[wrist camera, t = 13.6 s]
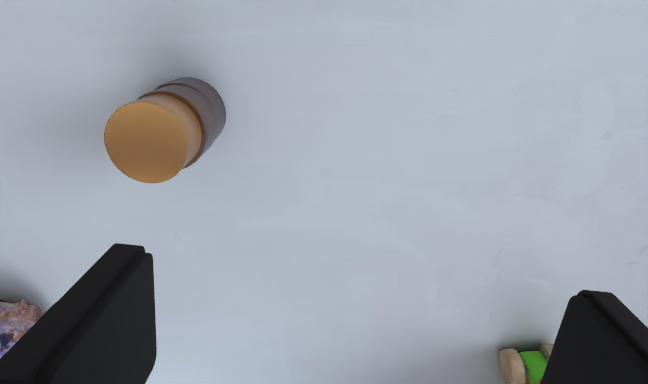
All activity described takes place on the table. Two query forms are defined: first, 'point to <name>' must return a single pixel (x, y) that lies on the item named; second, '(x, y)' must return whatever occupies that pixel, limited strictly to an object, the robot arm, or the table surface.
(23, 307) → the purple mottled rock
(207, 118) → the pile chip top
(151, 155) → the copper brown cylinder
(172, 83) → the pile chip bottom
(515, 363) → the toy lion
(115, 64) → the table surface
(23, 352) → the robot arm
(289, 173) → the table surface
